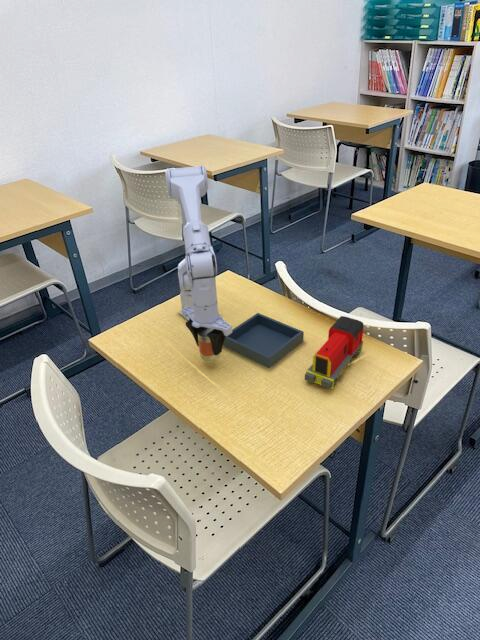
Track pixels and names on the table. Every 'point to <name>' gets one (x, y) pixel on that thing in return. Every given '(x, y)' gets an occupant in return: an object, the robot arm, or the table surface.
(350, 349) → the toy train
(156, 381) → the table surface
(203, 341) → the tin can
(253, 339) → the tub
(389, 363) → the table surface
